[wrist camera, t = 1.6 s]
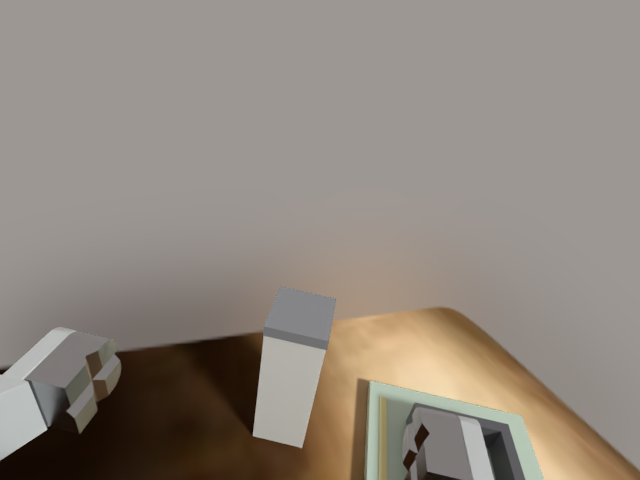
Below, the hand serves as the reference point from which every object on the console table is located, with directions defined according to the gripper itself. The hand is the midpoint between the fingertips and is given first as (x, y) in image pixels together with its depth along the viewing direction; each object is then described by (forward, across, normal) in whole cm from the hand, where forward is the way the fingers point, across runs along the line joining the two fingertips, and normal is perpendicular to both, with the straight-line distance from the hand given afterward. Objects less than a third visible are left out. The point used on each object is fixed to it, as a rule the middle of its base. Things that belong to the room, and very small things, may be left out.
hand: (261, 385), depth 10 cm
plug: (+12, 0, +20) cm, 24 cm away
